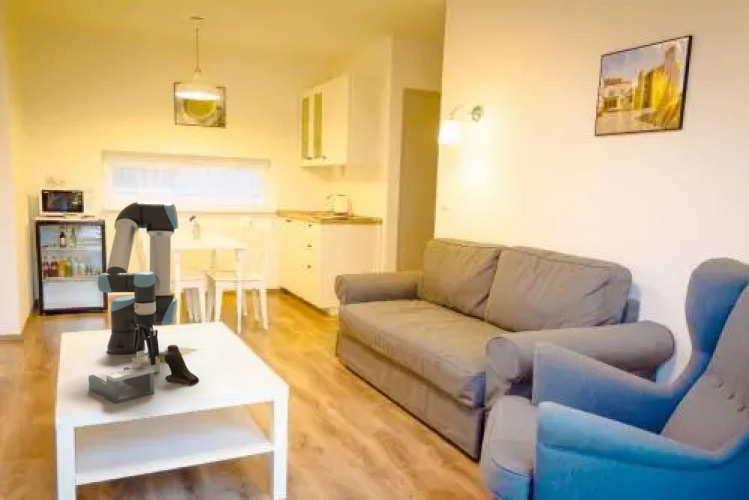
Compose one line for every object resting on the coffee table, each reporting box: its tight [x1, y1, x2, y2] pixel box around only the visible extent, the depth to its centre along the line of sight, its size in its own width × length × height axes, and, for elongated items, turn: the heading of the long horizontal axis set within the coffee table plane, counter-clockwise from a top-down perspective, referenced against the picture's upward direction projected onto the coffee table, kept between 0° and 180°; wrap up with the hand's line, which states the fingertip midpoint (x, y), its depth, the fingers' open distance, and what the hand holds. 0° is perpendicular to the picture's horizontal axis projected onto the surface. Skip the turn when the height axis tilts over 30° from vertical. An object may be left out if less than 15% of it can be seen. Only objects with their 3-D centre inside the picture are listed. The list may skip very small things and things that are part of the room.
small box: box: [131, 354, 161, 373], centre depth 223 cm, size 8×8×5 cm
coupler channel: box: [88, 365, 155, 405], centre depth 202 cm, size 19×14×9 cm
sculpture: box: [163, 344, 200, 386], centre depth 214 cm, size 6×13×13 cm, turn 69°
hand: (146, 370), depth 223 cm, fingers closed on small box, 8 cm apart
